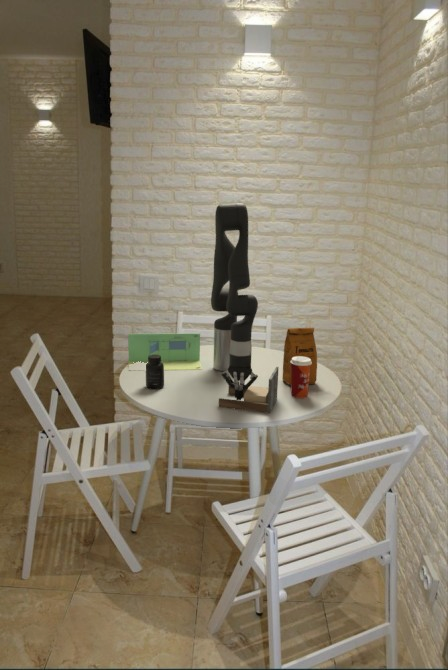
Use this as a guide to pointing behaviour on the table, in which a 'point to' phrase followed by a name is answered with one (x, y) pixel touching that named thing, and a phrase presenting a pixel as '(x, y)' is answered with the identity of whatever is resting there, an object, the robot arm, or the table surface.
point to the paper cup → (300, 376)
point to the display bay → (253, 405)
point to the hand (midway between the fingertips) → (239, 399)
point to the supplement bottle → (154, 372)
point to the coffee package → (300, 351)
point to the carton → (256, 394)
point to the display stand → (167, 349)
